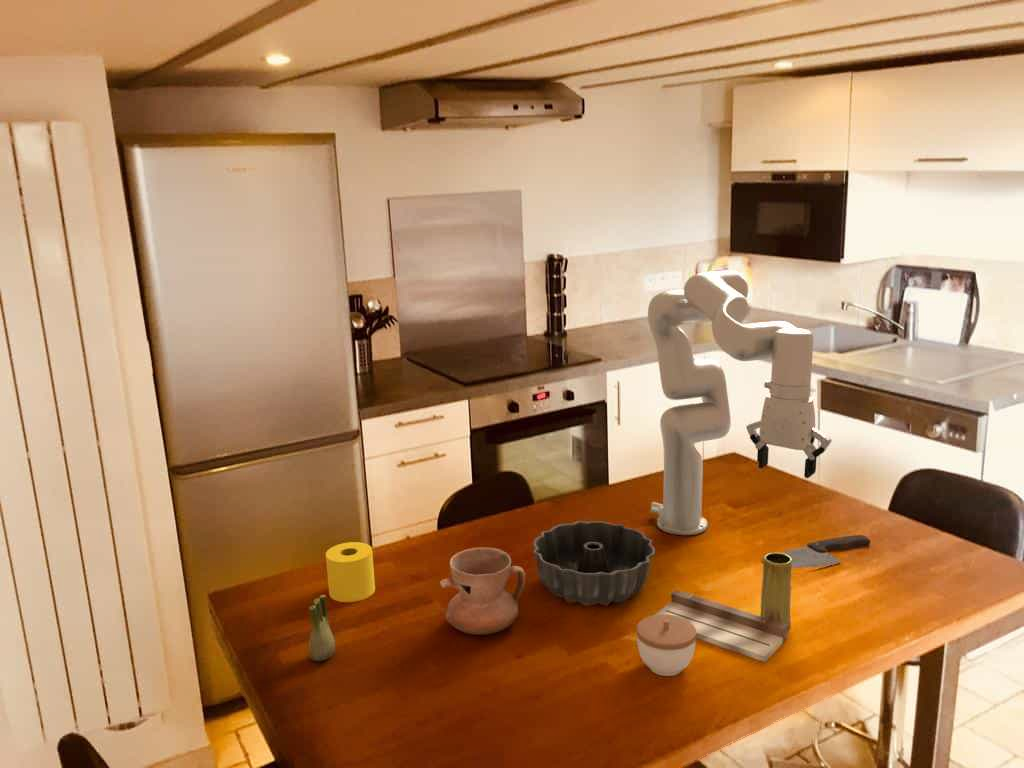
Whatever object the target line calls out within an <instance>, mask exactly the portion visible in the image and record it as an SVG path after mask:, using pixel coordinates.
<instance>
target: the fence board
mask: <svg viewBox="0 0 1024 768" xmlns="http://www.w3.org/2000/svg"><path fill="white" fill-rule="evenodd" d="M670 597H671V598H670V602H669V603H667V604H666V605H665V606H663V607H662V608H661V609H660V610H659V611H657V612H656V613H655V614H654V615H661V614H665V615H674V616H678V617H681V618H684V619H686V620H688V621H689V622H691V623H692V624H693V625H694V627H695V629H696V639H697V640H699V641H700V640H701V641H703V642H706V643H708V644H712V645H714V646H717V647H720V648H722V649H726V650H729V651H732V652H735V653H738V654H740V655H743V656H745V657H748V658H751V659H755V660H757V661H760V662H764V663H766V662H768V660H769V659H770V658H771V657H772V655H773V654H775V652H777V650H778V649H779V648H780V647H781V646H782V645H783V643H785V641H787V638H788V629H787V625H786V624H783V623H779V622H776V621H773V620H770V619H769V618H767V617H766V618H764V617H760V615H757V614H753V613H751V612H748V611H744V610H740V609H737V608H734V607H731V606H728V605H726V604H722V603H720V602H715V601H712V600H709V599H707V598H704V597H700V596H697V595H695V594H693V593H691V594H690V593H686V592H683V591H680V590H677V589H675V590H673V591H672V593H671V595H670Z"/></svg>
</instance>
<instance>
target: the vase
mask: <svg viewBox="0 0 1024 768" xmlns="http://www.w3.org/2000/svg"><path fill="white" fill-rule="evenodd" d="M763 558H764V562H763V563H762V564H763V565H762V567H763V568H762V581H761V582H762V583H761V595H760V614H759V616H760V617H764V618H766V617H767V618H769V619H770V620H773V621H776V622H779V623H783V624H786V625H787V630H789V628H790V627H791V625H792V623H791V593H792V591H791V589H792V588H791V587H792V583H791V582H792V574H791V566H792V559H791V557H790V556H788V555H786V554H783V553H780V552H769V553H766V554H764V556H763Z"/></svg>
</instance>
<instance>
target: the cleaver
mask: <svg viewBox="0 0 1024 768" xmlns="http://www.w3.org/2000/svg"><path fill="white" fill-rule="evenodd" d="M870 544H871V540H870V539H869V538H868V536H865V535H864V534H855V535H854V534H853V535H846V536H840V537H833V538H832V537H831V538H827V539H822V540H817V541H813V542H809V543H807V545H805V546H801V547H796V548H793V549H789V550H783V551H781V552H779V553H783V554H786V555H788V556H790V557H791V559H792V566H791V569H792V567H794V568H795V567H796V568H798V567H799V568H801V567H822V566H826V565H828V566H829V567H831V566H830V565H832V566H833V565H836V564H839V563H841V561H840V560H839V559H837V557H835V556H834V555H832V554H831V553H829V552H828V551H826V550H829V551H836V550H835V549H839V550H838V551H842V550H841V549H844V550H848V549H851V547H852V548H854V547H867V546H870ZM761 559H762V560H763V561H764V557H761Z"/></svg>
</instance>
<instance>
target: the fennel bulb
mask: <svg viewBox="0 0 1024 768" xmlns="http://www.w3.org/2000/svg"><path fill="white" fill-rule="evenodd" d="M326 598H327V596H326V595H325V594H322V595H319V597H318V598H315V599H314V600H313V601H312V604H313V605H310V607H309V608H308V611H309V617H310V618H309V619H310V624H311V626H310V627H311V629H310V630H311V631H310V632H311V633H310V637H309V640H308V656H309V659H311V660H312V661H315V662H324V661H326V660H328V659H330V658H331V657H332V656H333V655H334V654H335V650H336V644H335V643H336V642H335V639H334V636H333V631H331V627H330V623H329V620H328V613H327V599H326Z"/></svg>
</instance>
